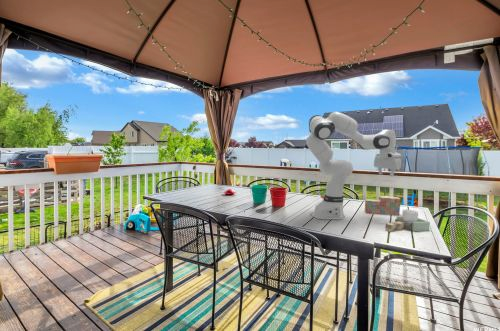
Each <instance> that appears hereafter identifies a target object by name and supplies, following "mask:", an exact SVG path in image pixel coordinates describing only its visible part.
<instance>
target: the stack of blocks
mask: <svg viewBox="0 0 500 331" xmlns="http://www.w3.org/2000/svg"><path fill="white" fill-rule="evenodd" d="M400 211H401V198H400V197H398V196H386V195H385V196H384V195H379V196H378V199H372V198H371V199H369V198H365V200H364V212H365V213H366V214H372V213H373V214H374V215H384V216H385V215H386V216H396V217H398V216H400Z"/></svg>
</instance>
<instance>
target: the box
mask: <svg viewBox="0 0 500 331" xmlns="http://www.w3.org/2000/svg"><path fill="white" fill-rule="evenodd" d="M395 219H400V220H403V215H399V216H396V218H395ZM430 225H431V222H430V221H428V220H425V219H422V218H419V217H418V221H417V222H415V223H413V229H412V232H427V231H430Z"/></svg>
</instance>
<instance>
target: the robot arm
mask: <svg viewBox="0 0 500 331" xmlns="http://www.w3.org/2000/svg"><path fill="white" fill-rule="evenodd" d="M358 126H359V124H358V122H357V120H356V119H354V118H353V117H351V116H349V115H347V114H345V113H343V112H339V111H333V112H331V113H329V115H328V116H327V117H326V118H325V117H324V116H322V115H320V114H315V115H312V116H311V117H310V118H309V121H308V130H309V131H308V132H309V133H310V135H309V136H307V138H306V140H305V143H306V146H307V147H308V149H309V150H310V152H311V154H312V155H313V156H314V157H315V159H317V161H318V169H319V171H320V173H323V174H325V175H328V176H331V179H329V181H328V182H326V186H325V195H320V198H321V199H323V200H322V201H321V202H319V203H318V204H317V205H315V207H314V209H313V210H314V211H313V212H310V216H312V218H316V219H317V220H343V218H345V213H344V195H343V194H344V185H345V182H346V179H347V178H348V177H350V176H351V175H352V173H353V171H354V166H353V164H352V163H351V162H349V161H347V160H344V159H336V158H334V157H333V156H334V150H332V148H331V147H330V146H329V144H328V143H327V141H326V140H328V139H329V138H330V137H331V136H332V135H333V134H334V133H335V132H338V133H340V134H342V135H344V136H346V137H347V138H349V139H350V140H352V141H353V142H355V143H356V144H358V146H359V147H360V149H362V150H366V151H368V150H379V153H376V155H375V157H374V160H373V167H374V168H377V171H378V175H381V176H382V175H383V174H384V173H383V172H384V171H382V169H385V170H387V169H388V170H390V172H389V177H394V176H395V172H396V171H399V170H401V168H402V159H401V158H402V154H401V153H399V152H396V147H395V145H396V141H397V138H396V137H397V136H396V132H395V130H393V129H386V128H384V129H382V130H381V131H379V132H378V133H375V134H362V133H361V132H359V131H358Z"/></svg>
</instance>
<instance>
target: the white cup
mask: <svg viewBox="0 0 500 331" xmlns="http://www.w3.org/2000/svg"><path fill="white" fill-rule="evenodd" d="M402 216H403V220H404V221H407V222H410V223H412V229H413V223H415V222H417V221H418V218H419V211H417V210H415V209H408V208H407V209H402Z"/></svg>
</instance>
